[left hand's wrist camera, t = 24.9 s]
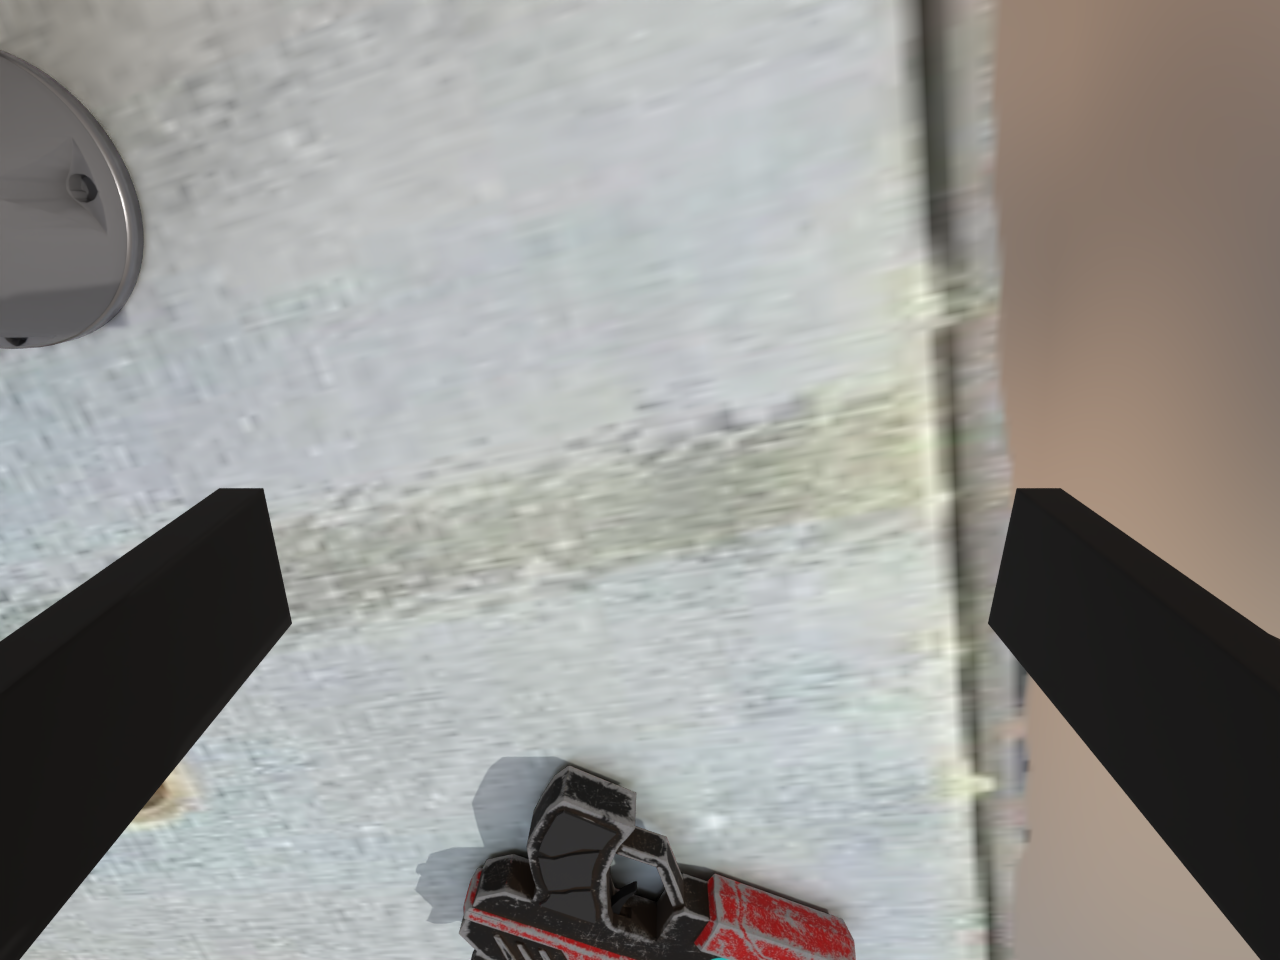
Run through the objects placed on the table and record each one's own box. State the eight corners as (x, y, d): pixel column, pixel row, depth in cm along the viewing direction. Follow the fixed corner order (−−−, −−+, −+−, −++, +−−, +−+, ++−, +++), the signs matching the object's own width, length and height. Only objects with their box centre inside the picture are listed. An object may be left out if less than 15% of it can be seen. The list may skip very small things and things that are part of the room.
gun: (523, 794, 48) (437, 964, 55) (916, 930, 53) (790, 1072, 60) (534, 746, 53) (453, 909, 60) (897, 875, 57) (782, 1014, 64)
